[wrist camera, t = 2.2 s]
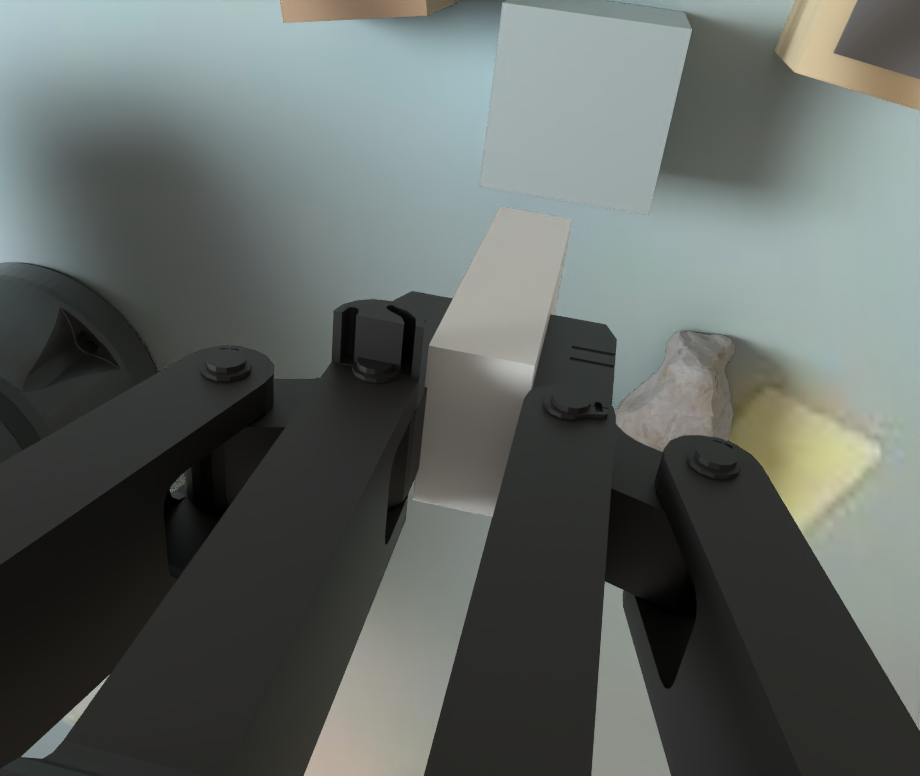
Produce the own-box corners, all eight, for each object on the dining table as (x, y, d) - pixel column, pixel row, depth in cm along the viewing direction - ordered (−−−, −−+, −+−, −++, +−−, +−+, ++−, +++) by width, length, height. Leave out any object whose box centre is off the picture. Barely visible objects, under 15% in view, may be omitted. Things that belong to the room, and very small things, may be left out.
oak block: (773, 51, 36) (795, 73, 31) (839, -105, 33) (876, -109, 28) (907, 91, 36) (952, 120, 31) (987, -62, 33) (1052, -58, 28)
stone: (607, 308, 44) (603, 359, 39) (766, 333, 43) (782, 388, 38) (578, 463, 48) (571, 525, 43) (720, 488, 48) (729, 554, 43)
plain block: (504, 147, 41) (479, 186, 35) (525, -11, 37) (502, 2, 31) (648, 170, 40) (648, 215, 34) (684, 11, 36) (692, 29, 30)
